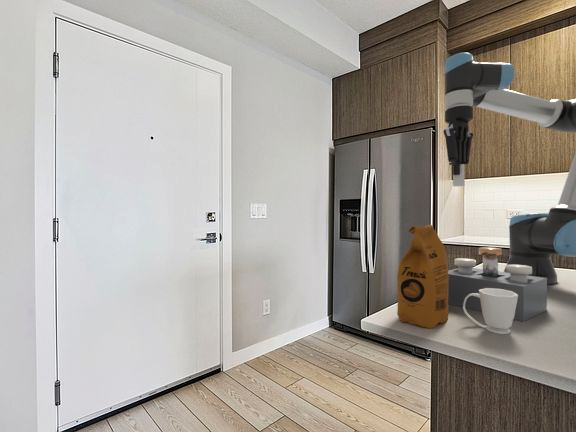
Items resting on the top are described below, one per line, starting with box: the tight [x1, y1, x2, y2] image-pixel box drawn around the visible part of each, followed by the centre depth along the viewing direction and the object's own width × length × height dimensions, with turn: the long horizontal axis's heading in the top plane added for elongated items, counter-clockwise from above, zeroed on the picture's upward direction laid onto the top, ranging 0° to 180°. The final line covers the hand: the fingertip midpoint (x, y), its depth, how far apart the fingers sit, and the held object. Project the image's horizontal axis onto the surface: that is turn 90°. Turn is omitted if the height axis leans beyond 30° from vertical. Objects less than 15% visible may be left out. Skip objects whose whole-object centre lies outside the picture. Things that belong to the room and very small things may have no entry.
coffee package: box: [396, 223, 450, 330], centre depth 75 cm, size 10×12×22 cm
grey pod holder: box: [448, 267, 548, 322], centre depth 85 cm, size 14×20×8 cm
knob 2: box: [505, 264, 532, 283], centre depth 79 cm, size 5×5×8 cm
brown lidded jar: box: [478, 247, 503, 278], centre depth 85 cm, size 5×5×8 cm
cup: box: [462, 288, 518, 335], centre depth 69 cm, size 7×10×8 cm
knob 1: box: [454, 257, 477, 274], centre depth 90 cm, size 5×5×8 cm
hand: (458, 186), depth 98 cm, fingers closed
